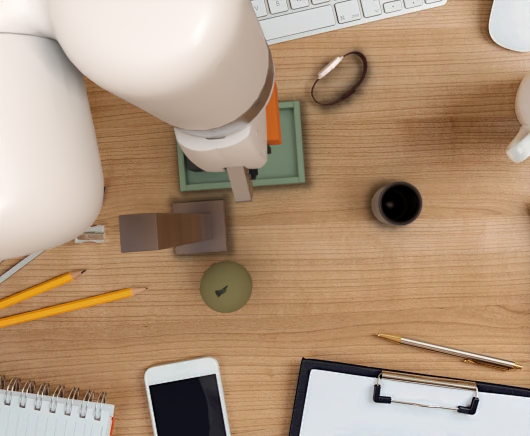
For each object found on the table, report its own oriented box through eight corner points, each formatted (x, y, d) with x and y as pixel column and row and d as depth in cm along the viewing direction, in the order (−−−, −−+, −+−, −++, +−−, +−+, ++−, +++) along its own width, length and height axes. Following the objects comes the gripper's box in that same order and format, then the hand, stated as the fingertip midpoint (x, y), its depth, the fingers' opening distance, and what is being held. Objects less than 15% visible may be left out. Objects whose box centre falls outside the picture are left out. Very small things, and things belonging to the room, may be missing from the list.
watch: (349, 45, 72) (350, 36, 69) (376, 74, 72) (378, 67, 69) (301, 89, 72) (300, 82, 69) (328, 118, 72) (328, 113, 69)
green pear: (243, 312, 72) (229, 327, 62) (203, 286, 72) (183, 298, 62) (268, 272, 72) (259, 281, 62) (229, 247, 72) (213, 252, 62)
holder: (184, 191, 72) (180, 191, 70) (178, 112, 72) (174, 109, 70) (305, 183, 72) (305, 182, 70) (299, 104, 72) (299, 100, 70)
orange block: (223, 149, 52) (215, 145, 49) (218, 90, 52) (210, 82, 49) (281, 144, 52) (278, 139, 48) (277, 85, 52) (273, 76, 48)
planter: (394, 178, 72) (405, 172, 62) (416, 209, 72) (431, 208, 62) (363, 200, 72) (369, 198, 62) (385, 231, 72) (395, 234, 62)
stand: (177, 254, 72) (103, 273, 48) (174, 203, 72) (97, 197, 48) (228, 250, 72) (178, 267, 48) (224, 200, 72) (173, 192, 48)
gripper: (128, -78, 34) (200, 23, 52) (150, 224, 34) (214, 220, 53) (261, -89, 34) (287, 16, 52) (283, 214, 34) (301, 214, 53)
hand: (250, 118), depth 52 cm, fingers closed on orange block, 4 cm apart
